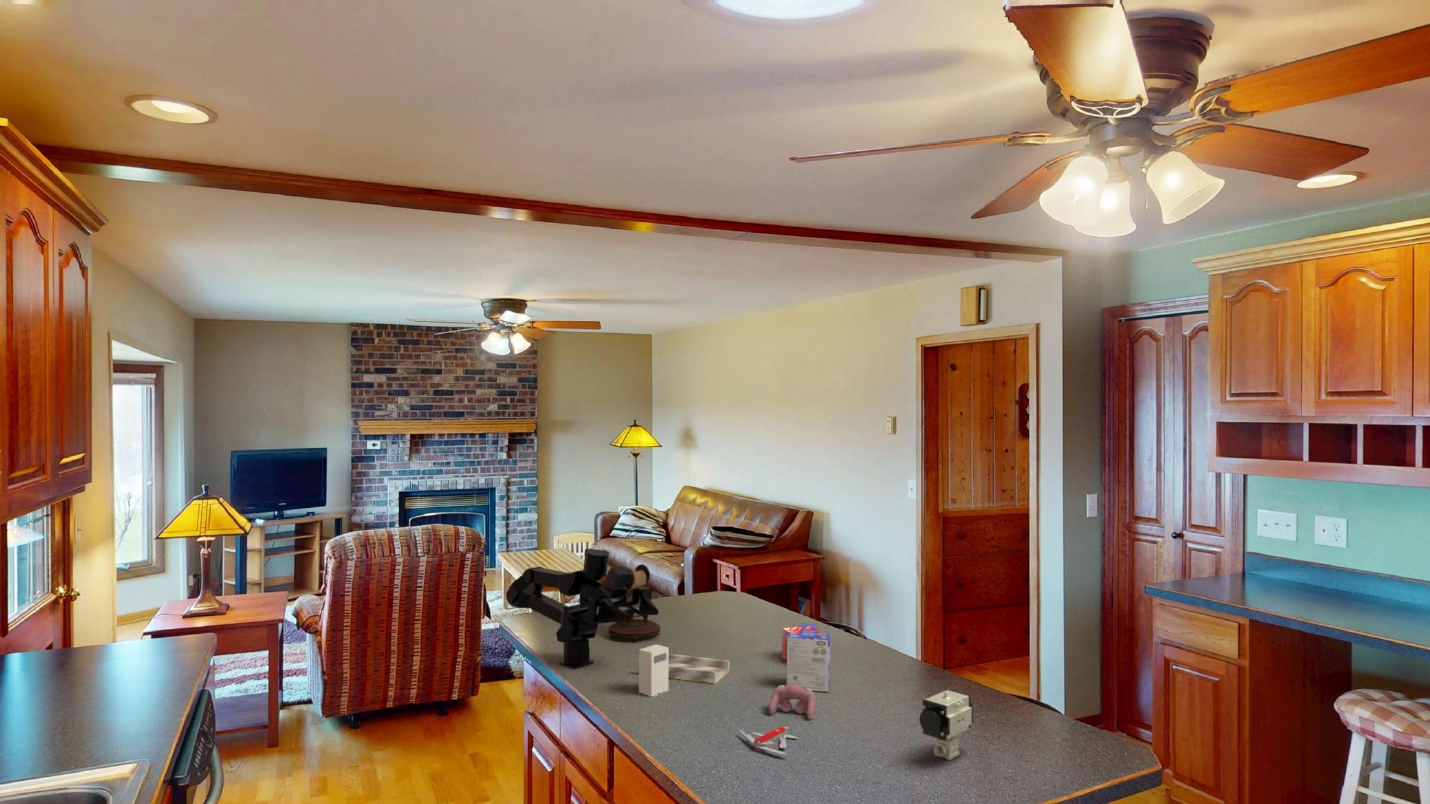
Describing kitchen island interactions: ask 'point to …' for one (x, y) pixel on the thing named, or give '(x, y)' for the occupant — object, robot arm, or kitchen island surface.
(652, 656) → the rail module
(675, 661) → the mounting rail
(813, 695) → the video game controller
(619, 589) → the robot arm
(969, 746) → the kitchen island surface
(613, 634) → the wooden figurine
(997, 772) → the kitchen island surface
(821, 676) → the ink cartridge box
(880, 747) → the kitchen island surface
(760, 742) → the swiss army knife
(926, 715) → the pneumatic valve
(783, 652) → the red patterned cube
